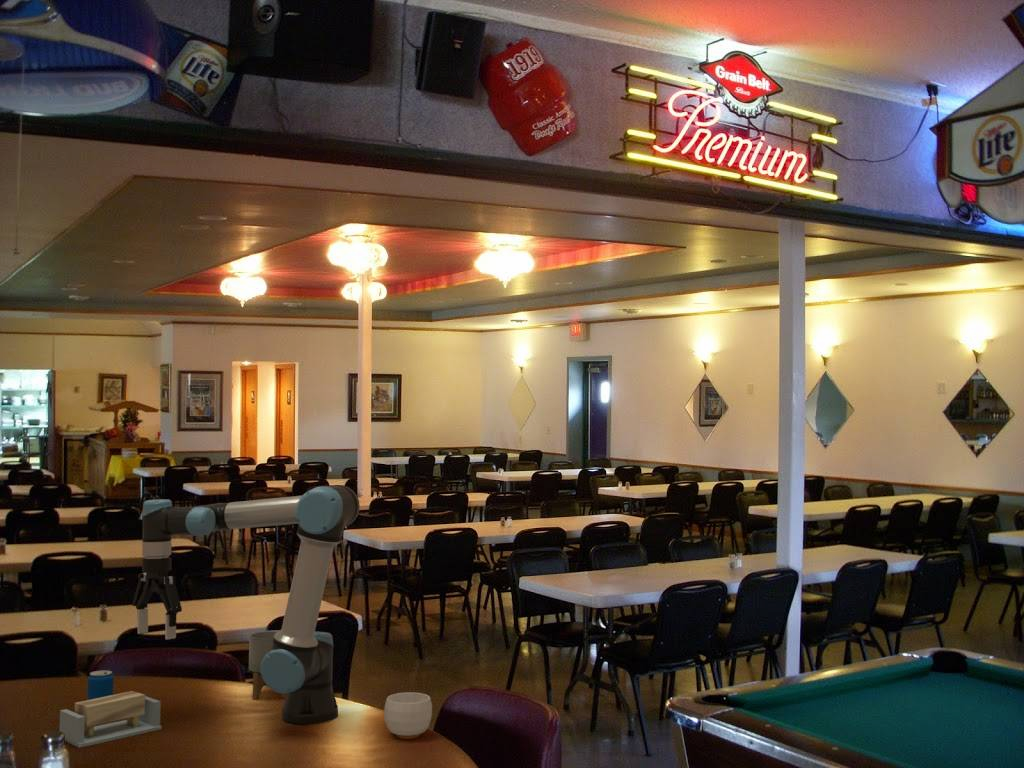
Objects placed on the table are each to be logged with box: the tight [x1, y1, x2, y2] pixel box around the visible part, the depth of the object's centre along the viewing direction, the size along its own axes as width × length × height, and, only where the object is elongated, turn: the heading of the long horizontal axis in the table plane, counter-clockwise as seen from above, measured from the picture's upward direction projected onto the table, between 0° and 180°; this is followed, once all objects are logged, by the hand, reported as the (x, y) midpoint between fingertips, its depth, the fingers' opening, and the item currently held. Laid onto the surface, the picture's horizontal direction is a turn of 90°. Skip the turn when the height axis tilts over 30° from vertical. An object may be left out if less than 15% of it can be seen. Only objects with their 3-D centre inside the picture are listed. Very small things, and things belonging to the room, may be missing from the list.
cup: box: [383, 691, 433, 740], centre depth 267 cm, size 12×12×10 cm
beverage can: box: [86, 669, 115, 701], centre depth 280 cm, size 6×6×12 cm
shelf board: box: [74, 690, 146, 727], centre depth 266 cm, size 6×16×5 cm, turn 142°
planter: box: [248, 629, 288, 701], centre depth 306 cm, size 13×13×18 cm
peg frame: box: [59, 695, 163, 748], centre depth 266 cm, size 12×22×7 cm, turn 138°
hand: (156, 635), depth 279 cm, fingers open, 13 cm apart
